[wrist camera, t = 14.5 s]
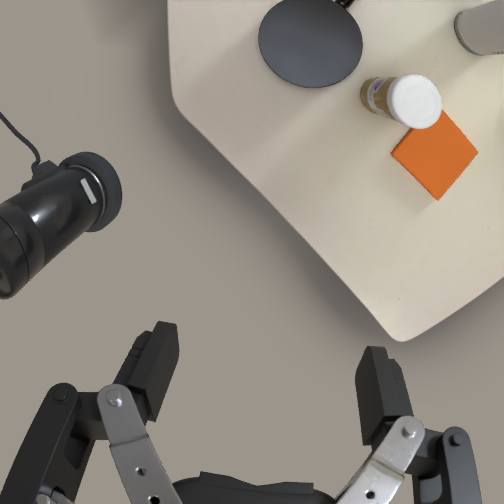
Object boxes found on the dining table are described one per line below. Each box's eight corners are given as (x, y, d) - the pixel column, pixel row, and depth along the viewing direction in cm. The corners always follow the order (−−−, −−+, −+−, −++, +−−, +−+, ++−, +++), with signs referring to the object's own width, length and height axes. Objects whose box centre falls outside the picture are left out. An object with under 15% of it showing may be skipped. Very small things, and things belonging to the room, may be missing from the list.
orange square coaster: (390, 153, 35) (391, 154, 34) (432, 101, 31) (435, 102, 30) (435, 198, 36) (438, 201, 36) (475, 151, 32) (478, 152, 32)
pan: (242, 53, 31) (238, 50, 29) (335, -55, 23) (338, -64, 20) (321, 106, 33) (323, 107, 31) (411, -2, 25) (419, -8, 22)
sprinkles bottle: (368, 71, 30) (405, 63, 19) (402, 89, 31) (452, 93, 19) (353, 104, 33) (383, 112, 21) (387, 121, 33) (431, 140, 21)
